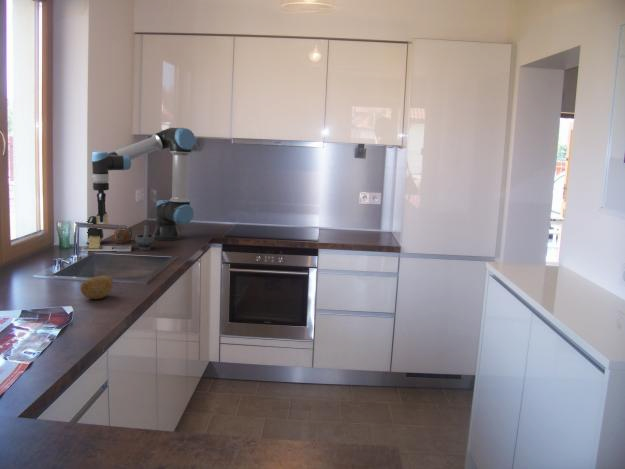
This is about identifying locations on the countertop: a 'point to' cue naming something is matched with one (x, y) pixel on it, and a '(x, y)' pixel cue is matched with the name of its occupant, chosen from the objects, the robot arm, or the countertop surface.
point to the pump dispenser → (94, 229)
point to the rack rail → (107, 248)
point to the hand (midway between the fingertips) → (102, 227)
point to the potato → (97, 287)
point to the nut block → (104, 219)
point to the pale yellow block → (94, 242)
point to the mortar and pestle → (144, 239)
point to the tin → (122, 236)
